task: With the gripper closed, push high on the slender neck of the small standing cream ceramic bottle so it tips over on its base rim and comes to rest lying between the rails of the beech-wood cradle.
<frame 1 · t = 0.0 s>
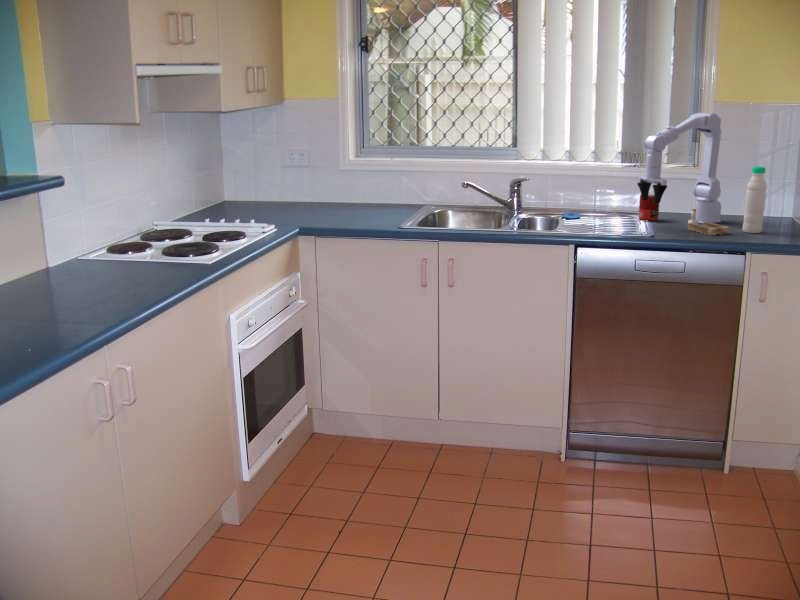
hand: (650, 201, 346), 10 cm above the worktop, tool pointing down, fingers open, 7 cm apart
cradle: (706, 231, 339), on the worktop
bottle: (692, 228, 346), on the worktop
canned food: (648, 220, 364), on the worktop
water bottle: (751, 232, 337), on the worktop
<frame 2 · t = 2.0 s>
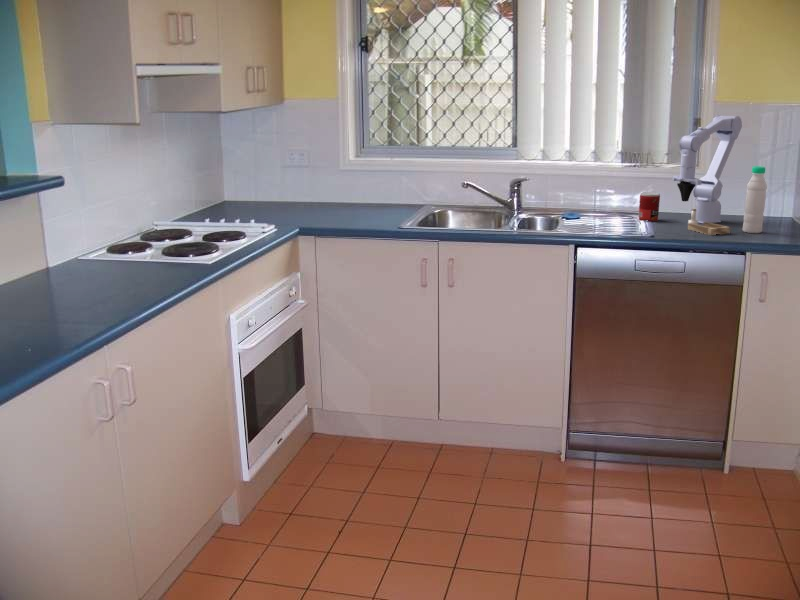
hand: (685, 201, 348), 10 cm above the worktop, tool pointing down, fingers closed
nothing on the worktop moved.
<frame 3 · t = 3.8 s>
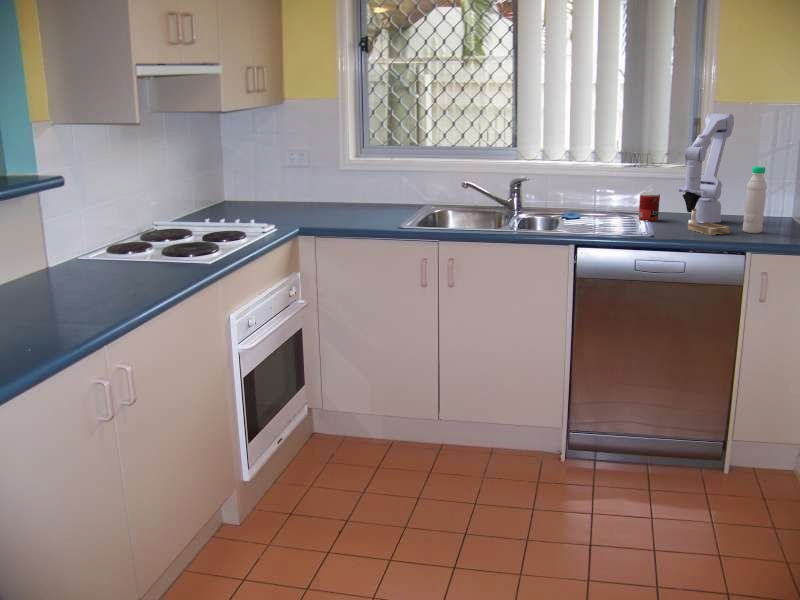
hand: (690, 212, 346), 6 cm above the worktop, tool pointing down, fingers closed
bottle: (692, 228, 346), on the worktop, touching gripper
everything else where it was.
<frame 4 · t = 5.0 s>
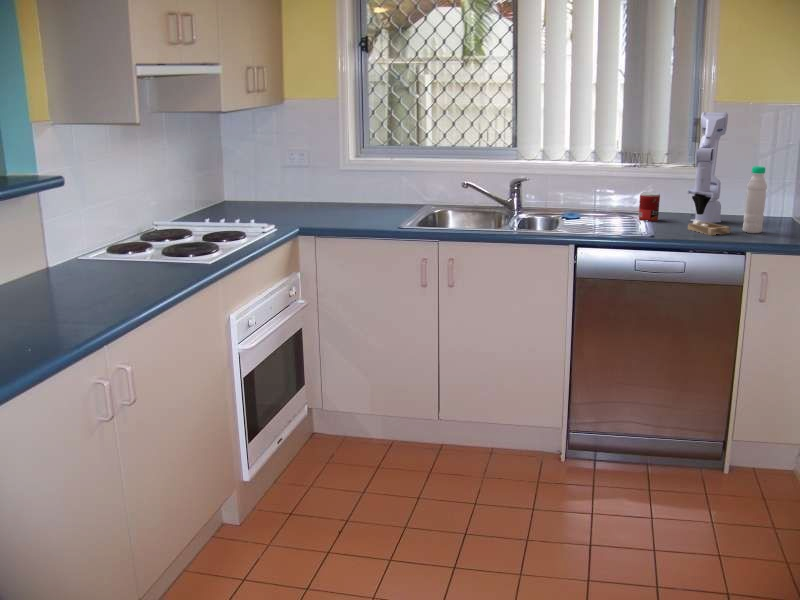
hand: (699, 214, 341), 6 cm above the worktop, tool pointing down, fingers closed
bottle: (696, 224, 344), point 2 cm above the worktop, tilted 90°
everything else where it was.
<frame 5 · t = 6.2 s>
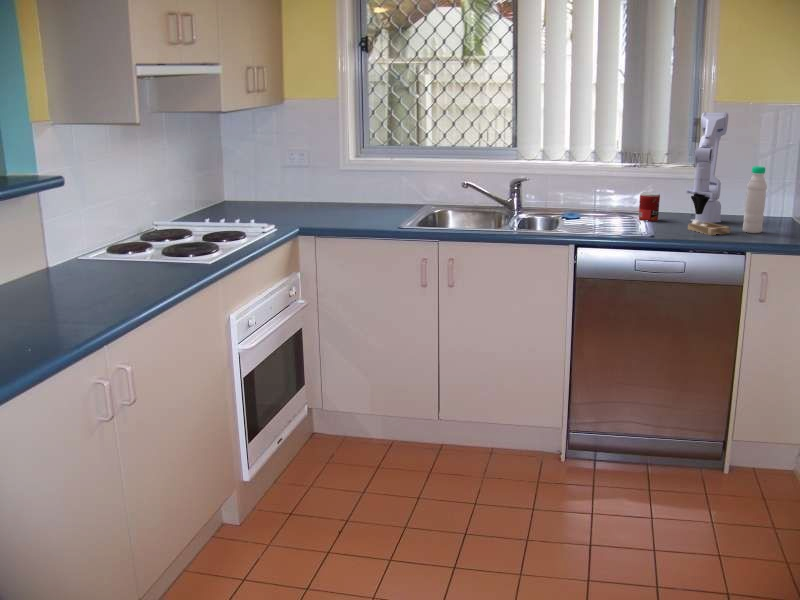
hand: (698, 214, 342), 6 cm above the worktop, tool pointing down, fingers closed
nothing on the worktop moved.
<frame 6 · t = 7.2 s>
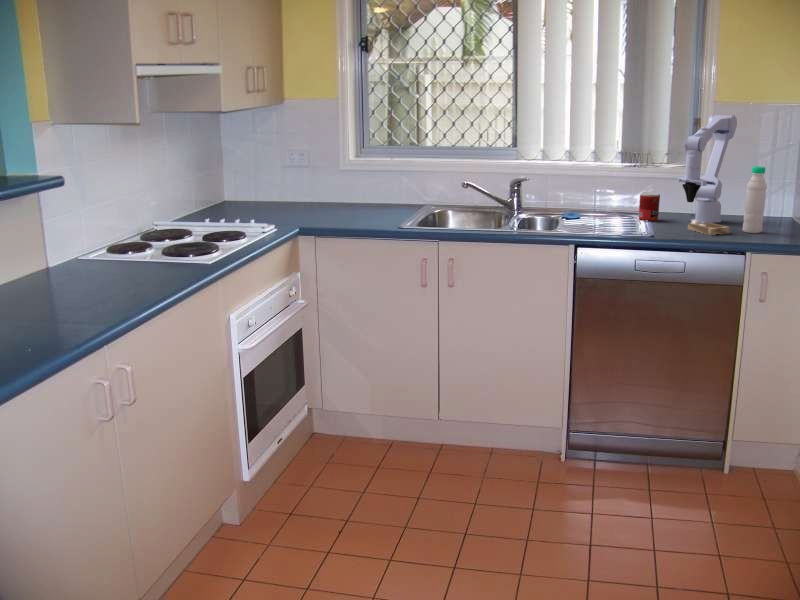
hand: (690, 202, 346), 10 cm above the worktop, tool pointing down, fingers closed
nothing on the worktop moved.
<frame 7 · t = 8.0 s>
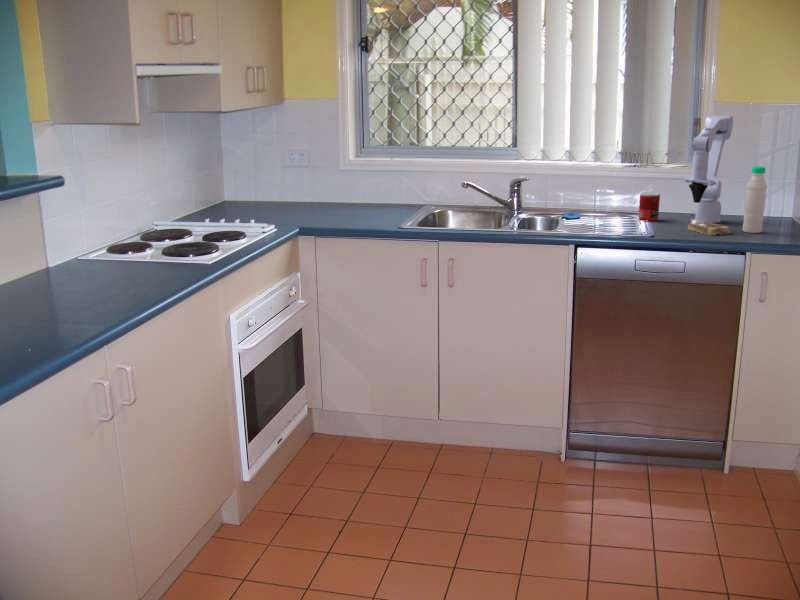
hand: (696, 202, 345), 10 cm above the worktop, tool pointing down, fingers closed
nothing on the worktop moved.
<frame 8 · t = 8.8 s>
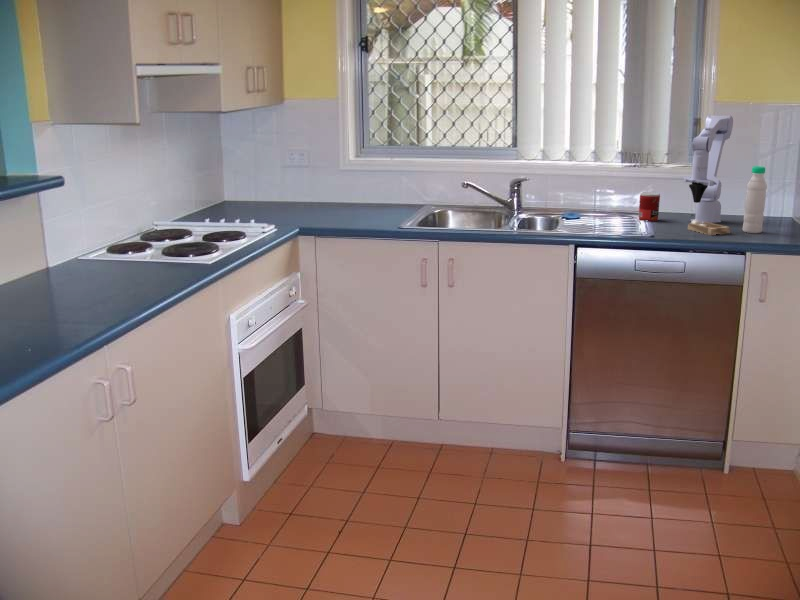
hand: (696, 202, 345), 10 cm above the worktop, tool pointing down, fingers closed
nothing on the worktop moved.
at the end: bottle tilted 90°; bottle inside the target area (4.7 cm from its centre), point 1.8 cm above the worktop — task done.
